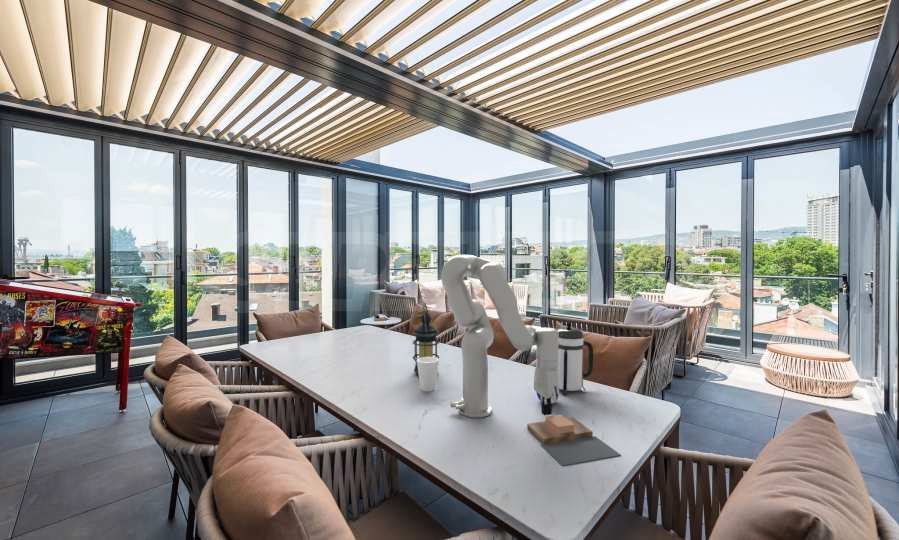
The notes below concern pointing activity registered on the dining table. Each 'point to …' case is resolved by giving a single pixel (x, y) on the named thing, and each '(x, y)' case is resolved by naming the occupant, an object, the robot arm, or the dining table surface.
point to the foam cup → (427, 372)
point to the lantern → (425, 338)
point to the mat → (579, 450)
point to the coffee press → (572, 358)
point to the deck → (551, 436)
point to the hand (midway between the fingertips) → (546, 413)
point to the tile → (559, 424)
